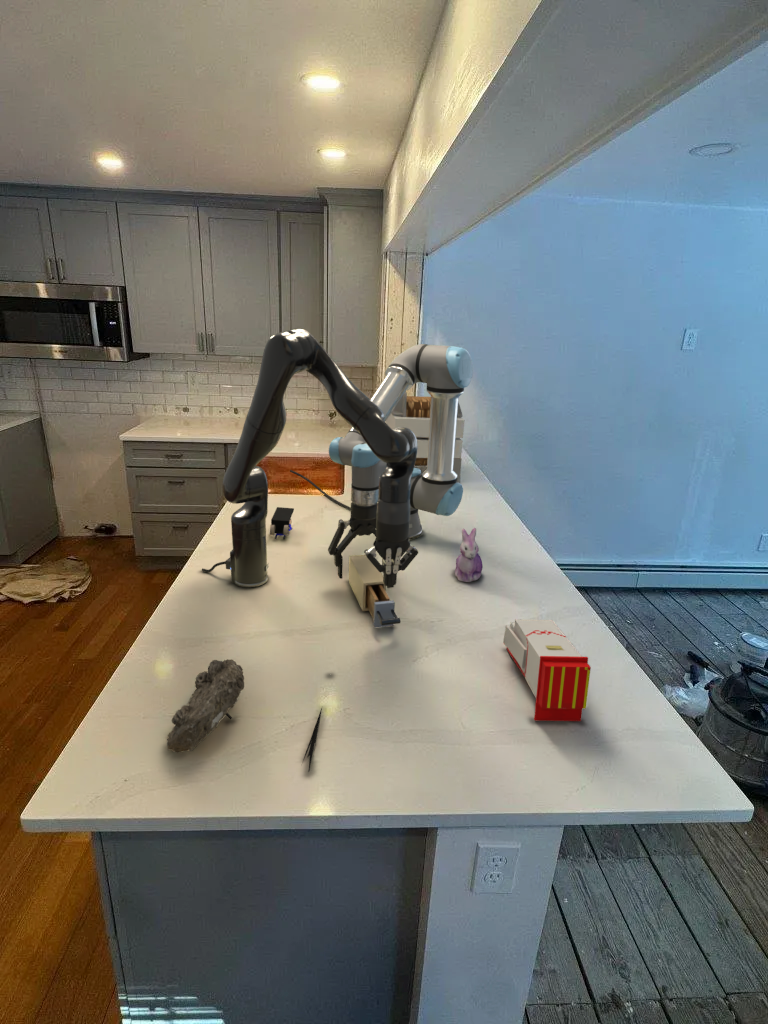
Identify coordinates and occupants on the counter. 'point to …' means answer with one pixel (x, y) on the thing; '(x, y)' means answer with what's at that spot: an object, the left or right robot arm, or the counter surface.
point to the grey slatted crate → (423, 427)
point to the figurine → (468, 558)
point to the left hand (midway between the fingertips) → (389, 586)
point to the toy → (549, 668)
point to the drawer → (380, 606)
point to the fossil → (206, 705)
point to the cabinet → (363, 577)
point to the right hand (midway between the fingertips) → (362, 574)
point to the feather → (313, 740)
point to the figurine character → (281, 522)
